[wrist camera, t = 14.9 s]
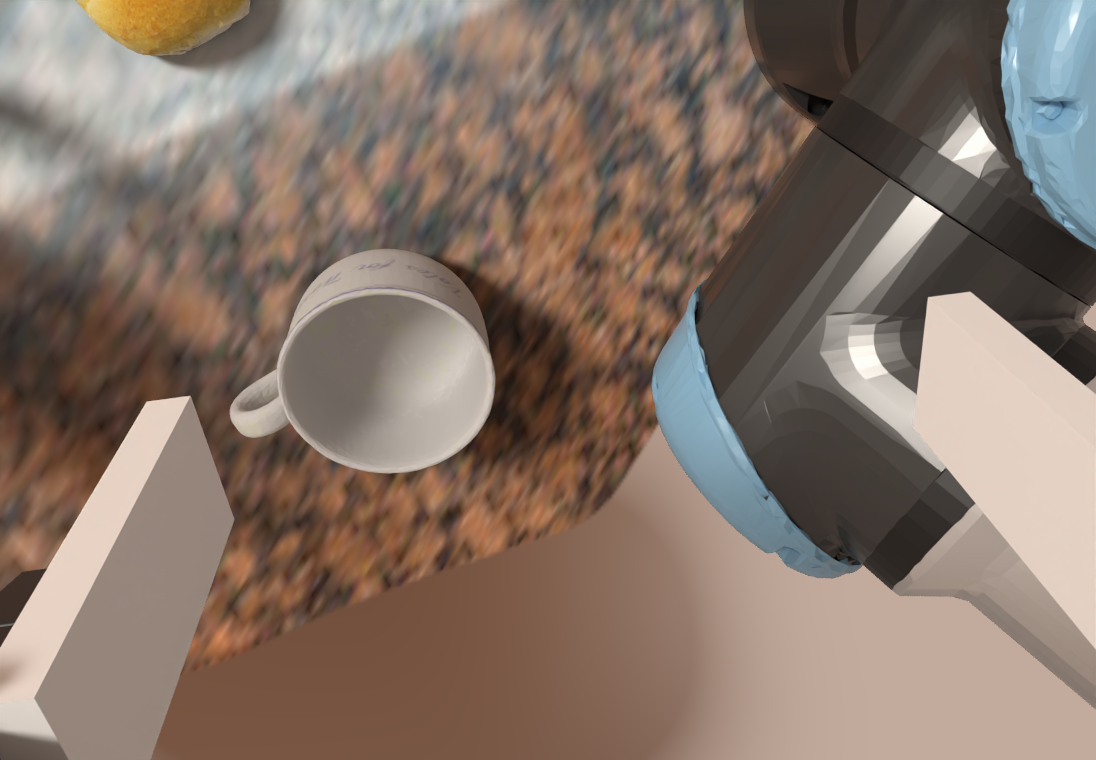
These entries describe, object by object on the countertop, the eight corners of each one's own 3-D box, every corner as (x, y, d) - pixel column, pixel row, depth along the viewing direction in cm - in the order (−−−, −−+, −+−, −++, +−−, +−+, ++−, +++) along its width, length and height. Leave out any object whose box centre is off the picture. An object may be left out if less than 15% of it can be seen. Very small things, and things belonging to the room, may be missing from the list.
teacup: (475, 217, 49) (478, 274, 42) (503, 388, 54) (509, 464, 47) (219, 252, 48) (178, 315, 41) (272, 421, 54) (244, 502, 47)
